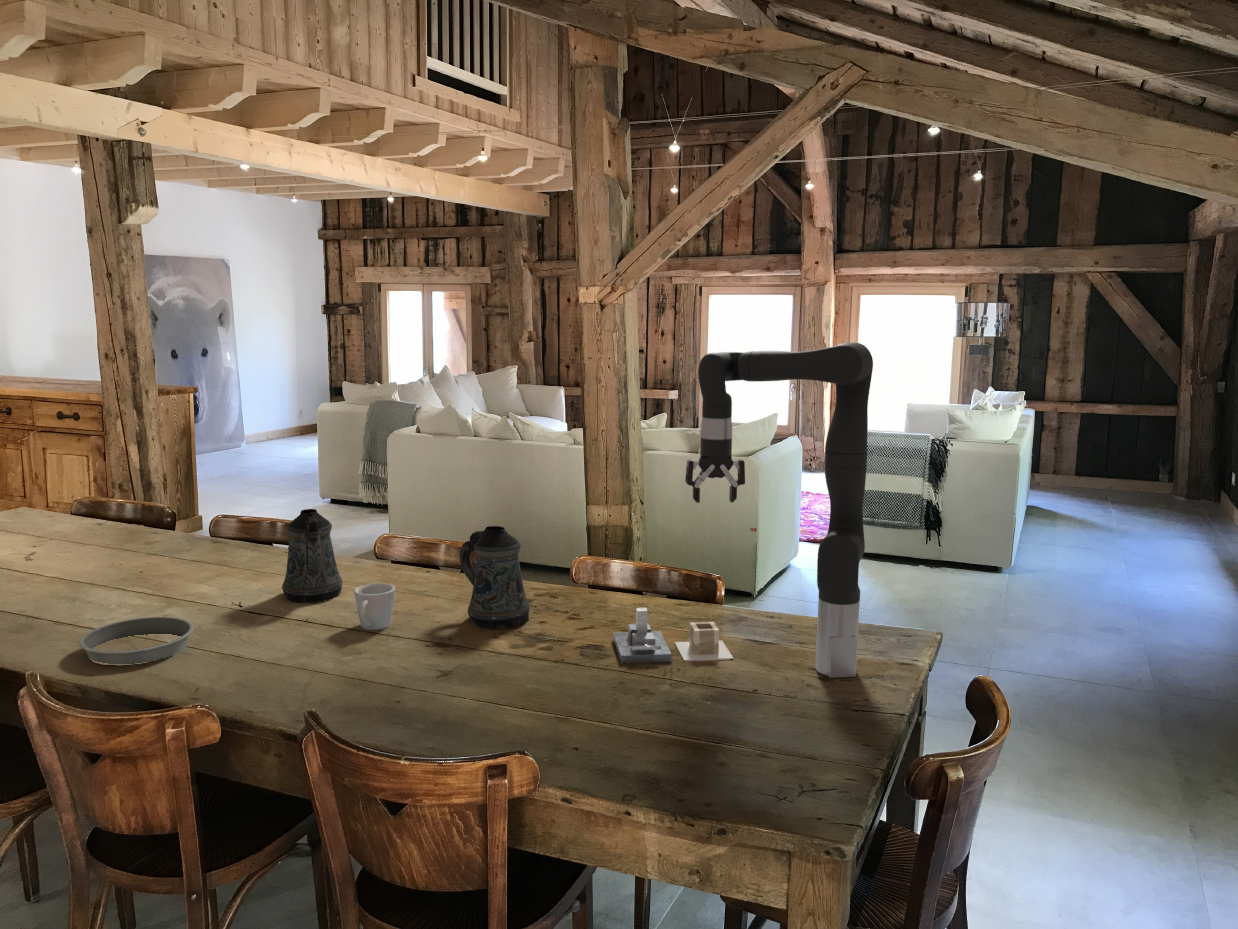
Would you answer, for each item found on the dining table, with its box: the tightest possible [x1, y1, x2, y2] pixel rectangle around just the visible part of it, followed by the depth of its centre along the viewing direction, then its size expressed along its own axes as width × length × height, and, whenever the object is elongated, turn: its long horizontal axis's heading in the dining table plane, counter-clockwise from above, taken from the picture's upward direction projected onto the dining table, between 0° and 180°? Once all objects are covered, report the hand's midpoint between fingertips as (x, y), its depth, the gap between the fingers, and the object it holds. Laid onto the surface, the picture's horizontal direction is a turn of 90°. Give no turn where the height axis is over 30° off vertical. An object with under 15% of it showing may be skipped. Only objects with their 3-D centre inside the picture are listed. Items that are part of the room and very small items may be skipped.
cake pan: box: [78, 616, 194, 664], centre depth 227 cm, size 25×25×4 cm
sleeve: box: [688, 621, 720, 655], centre depth 228 cm, size 6×6×6 cm
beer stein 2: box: [459, 525, 531, 630], centre depth 249 cm, size 16×19×25 cm
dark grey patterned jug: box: [281, 508, 343, 604], centre depth 268 cm, size 16×19×25 cm
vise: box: [612, 607, 673, 664], centre depth 228 cm, size 16×12×10 cm
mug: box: [353, 582, 396, 631], centre depth 243 cm, size 10×15×10 cm
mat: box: [674, 639, 734, 662], centre depth 229 cm, size 12×12×1 cm
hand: (714, 502), depth 228 cm, fingers open, 8 cm apart
